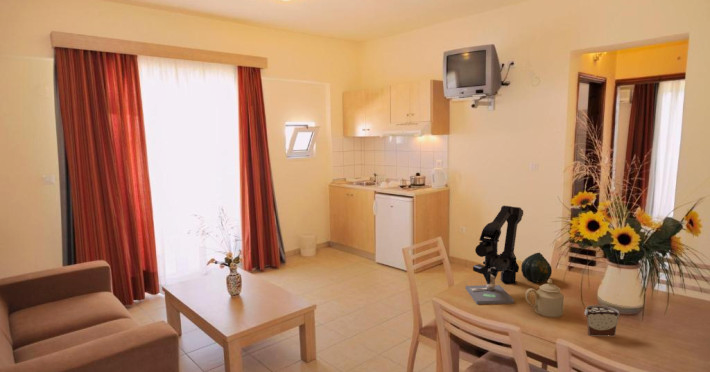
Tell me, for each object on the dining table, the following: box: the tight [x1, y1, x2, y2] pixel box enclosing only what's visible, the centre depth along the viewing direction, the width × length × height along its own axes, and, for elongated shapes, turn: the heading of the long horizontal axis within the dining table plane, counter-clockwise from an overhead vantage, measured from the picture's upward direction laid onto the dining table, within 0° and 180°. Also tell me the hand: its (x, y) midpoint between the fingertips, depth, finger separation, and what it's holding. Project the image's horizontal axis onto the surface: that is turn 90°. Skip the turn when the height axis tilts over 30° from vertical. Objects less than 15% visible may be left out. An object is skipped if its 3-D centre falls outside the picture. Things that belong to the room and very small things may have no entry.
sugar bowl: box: [524, 278, 565, 318], centre depth 178 cm, size 15×11×15 cm
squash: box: [520, 252, 553, 283], centre depth 218 cm, size 14×15×15 cm
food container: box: [584, 304, 621, 337], centre depth 161 cm, size 12×6×10 cm, turn 84°
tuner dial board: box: [465, 284, 515, 305], centre depth 200 cm, size 17×19×2 cm
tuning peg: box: [472, 275, 496, 291], centre depth 202 cm, size 12×5×7 cm, turn 99°
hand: (490, 283), depth 203 cm, fingers closed on tuning peg, 3 cm apart
